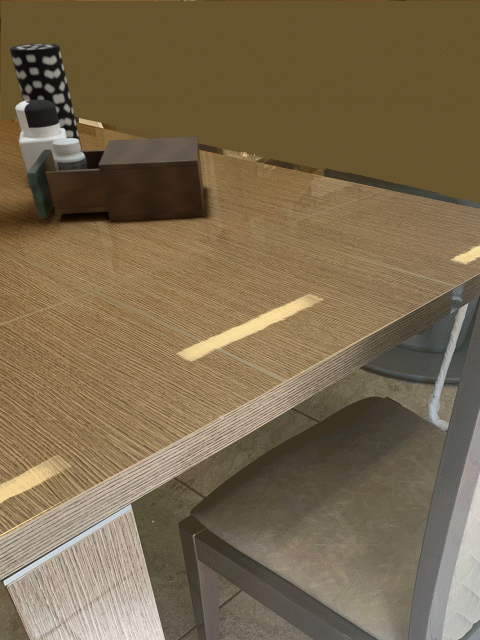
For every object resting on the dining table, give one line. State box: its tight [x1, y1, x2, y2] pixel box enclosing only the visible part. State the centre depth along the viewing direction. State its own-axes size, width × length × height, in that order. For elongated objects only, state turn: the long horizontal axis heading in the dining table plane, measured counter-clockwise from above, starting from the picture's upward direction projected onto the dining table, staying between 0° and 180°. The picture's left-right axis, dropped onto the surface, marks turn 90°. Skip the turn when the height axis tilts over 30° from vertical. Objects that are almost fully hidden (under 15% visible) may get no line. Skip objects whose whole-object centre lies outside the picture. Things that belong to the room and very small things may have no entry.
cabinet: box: [98, 136, 205, 223], centre depth 104 cm, size 15×15×9 cm
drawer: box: [26, 148, 108, 219], centre depth 103 cm, size 15×13×7 cm
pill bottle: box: [53, 138, 88, 171], centre depth 102 cm, size 5×5×8 cm
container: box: [14, 100, 67, 174], centre depth 114 cm, size 8×8×13 cm
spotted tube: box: [9, 43, 83, 151], centre depth 120 cm, size 8×8×20 cm
